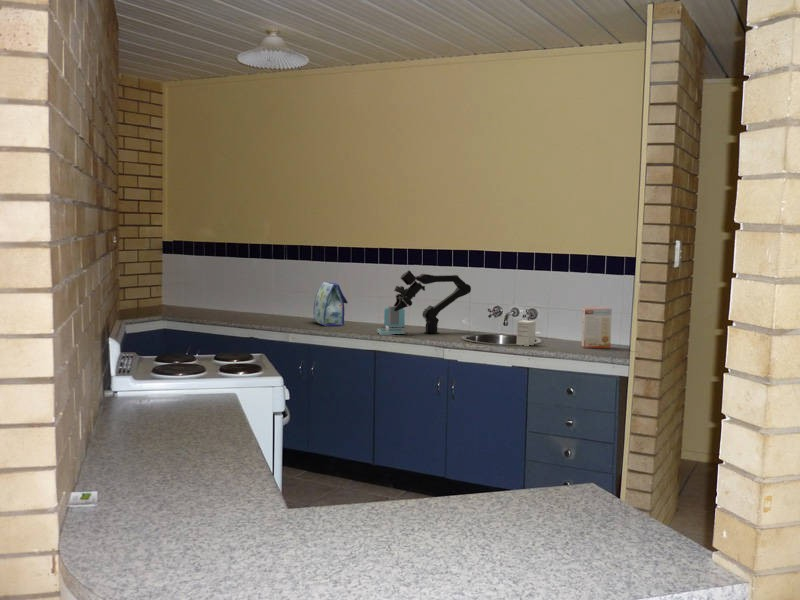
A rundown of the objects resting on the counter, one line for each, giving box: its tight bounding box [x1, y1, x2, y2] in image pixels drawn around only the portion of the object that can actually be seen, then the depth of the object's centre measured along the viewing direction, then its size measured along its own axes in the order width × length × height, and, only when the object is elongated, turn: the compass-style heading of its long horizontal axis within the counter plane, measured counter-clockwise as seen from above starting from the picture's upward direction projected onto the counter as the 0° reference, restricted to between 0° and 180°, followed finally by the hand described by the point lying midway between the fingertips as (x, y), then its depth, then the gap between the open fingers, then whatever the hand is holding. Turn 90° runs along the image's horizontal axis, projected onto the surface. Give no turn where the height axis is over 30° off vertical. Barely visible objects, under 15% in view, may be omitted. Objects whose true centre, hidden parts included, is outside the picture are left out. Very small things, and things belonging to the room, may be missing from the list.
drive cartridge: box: [388, 305, 399, 325], centre depth 452 cm, size 5×5×10 cm
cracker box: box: [581, 306, 612, 349], centre depth 413 cm, size 14×6×21 cm, turn 92°
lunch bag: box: [313, 281, 348, 327], centre depth 492 cm, size 22×17×26 cm
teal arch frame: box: [383, 306, 406, 328], centre depth 483 cm, size 12×4×12 cm, turn 96°
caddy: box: [376, 326, 406, 336], centre depth 452 cm, size 14×11×4 cm
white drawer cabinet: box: [516, 319, 536, 347], centre depth 418 cm, size 7×7×13 cm
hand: (393, 310), depth 452 cm, fingers closed on drive cartridge, 5 cm apart
